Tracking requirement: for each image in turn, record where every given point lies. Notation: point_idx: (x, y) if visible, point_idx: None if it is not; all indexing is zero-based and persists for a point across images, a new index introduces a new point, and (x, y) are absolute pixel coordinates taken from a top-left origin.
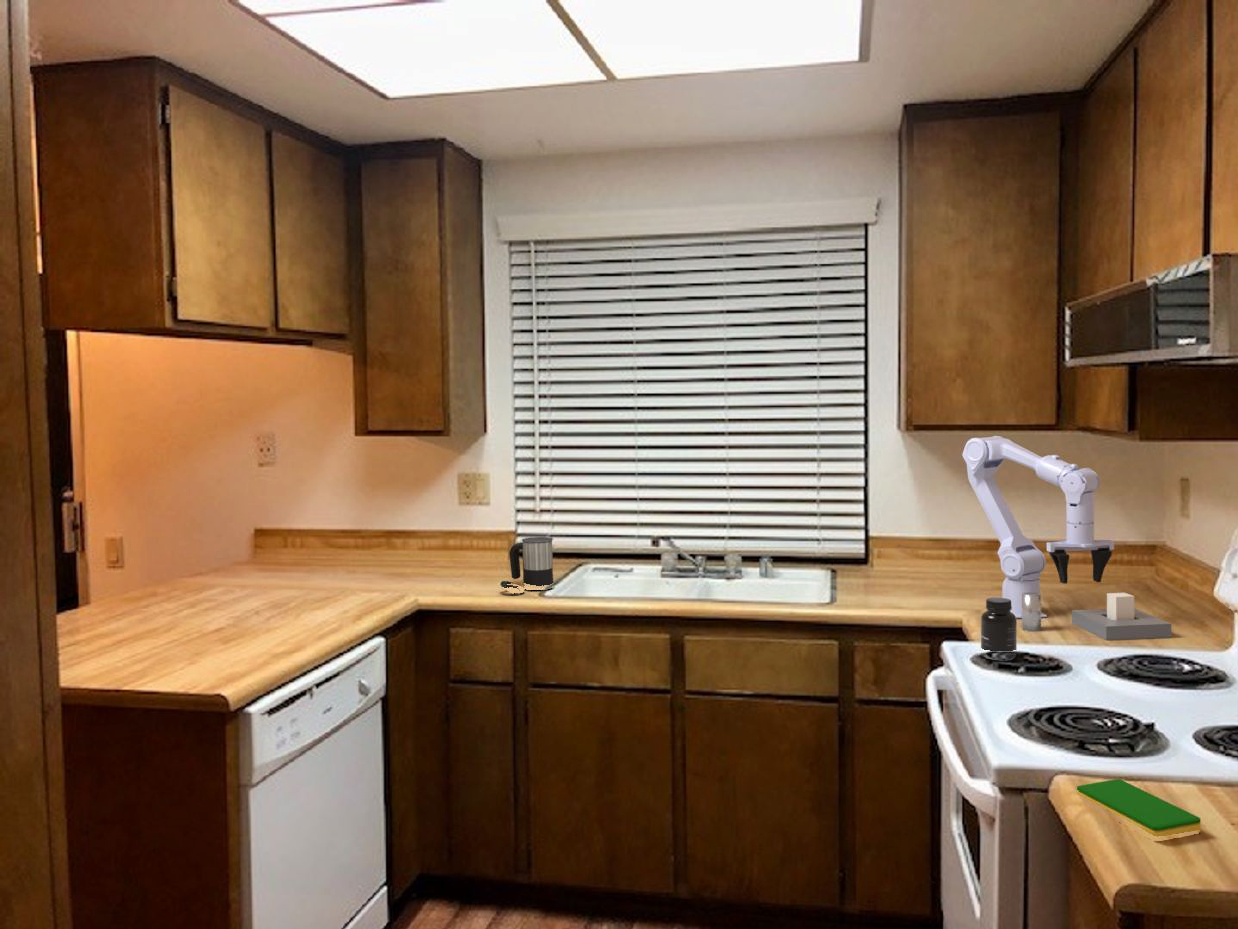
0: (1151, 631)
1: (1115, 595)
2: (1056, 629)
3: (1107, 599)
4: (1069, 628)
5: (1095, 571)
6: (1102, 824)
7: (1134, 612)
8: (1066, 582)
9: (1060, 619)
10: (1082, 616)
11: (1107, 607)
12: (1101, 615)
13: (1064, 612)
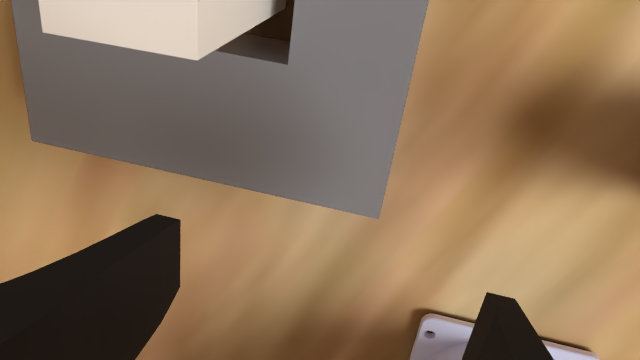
0: None
1: None
2: (570, 97)
3: (218, 38)
4: (480, 91)
5: (126, 327)
6: None
7: None
8: (495, 299)
9: (384, 265)
10: (409, 81)
11: (242, 24)
12: (296, 32)
13: (284, 348)
